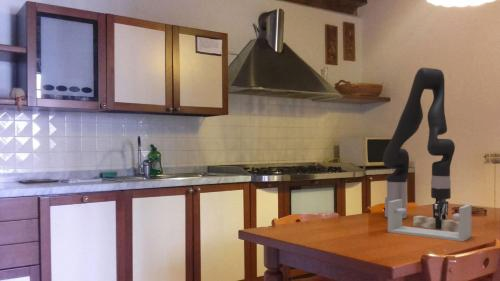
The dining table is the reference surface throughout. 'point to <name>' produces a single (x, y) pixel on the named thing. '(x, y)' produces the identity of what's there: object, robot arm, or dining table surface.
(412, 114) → the robot arm
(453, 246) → the dining table surface
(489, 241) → the dining table surface
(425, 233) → the grey c-shaped frame
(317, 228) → the dining table surface
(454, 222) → the shelf board
